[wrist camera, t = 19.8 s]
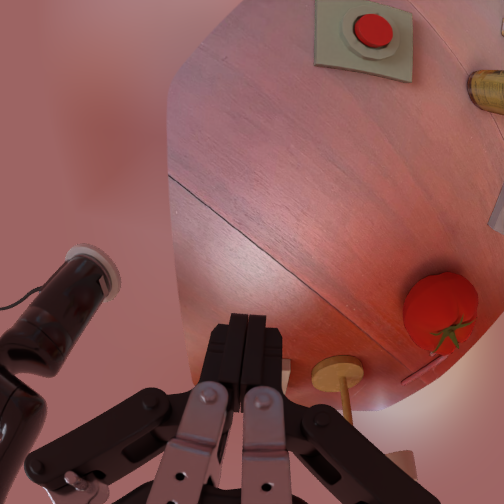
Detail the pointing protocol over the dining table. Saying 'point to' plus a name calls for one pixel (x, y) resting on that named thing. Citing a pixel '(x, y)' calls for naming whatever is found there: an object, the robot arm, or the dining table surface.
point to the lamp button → (373, 30)
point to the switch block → (352, 49)
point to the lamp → (341, 379)
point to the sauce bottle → (487, 90)
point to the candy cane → (424, 369)
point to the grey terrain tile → (498, 214)
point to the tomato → (441, 312)
